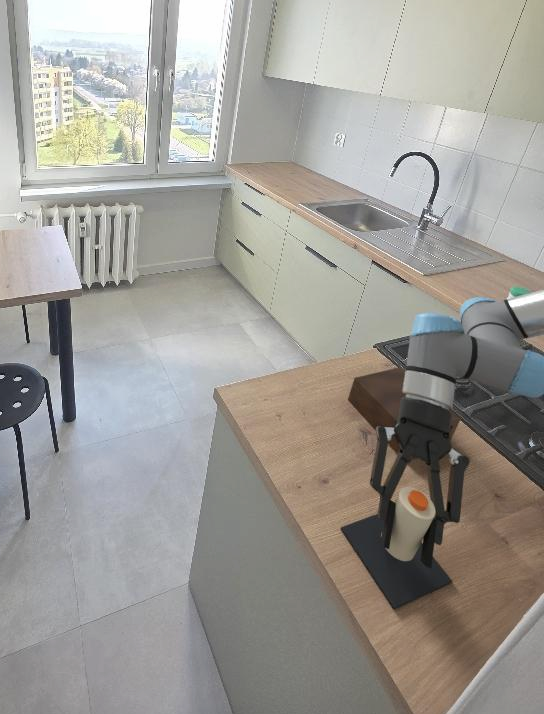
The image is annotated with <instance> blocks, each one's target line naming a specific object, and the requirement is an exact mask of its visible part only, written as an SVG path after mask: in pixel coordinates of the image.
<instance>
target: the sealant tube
mask: <svg viewBox="0 0 544 714" xmlns="http://www.w3.org/2000/svg"><path fill="white" fill-rule="evenodd" d="M395 499H396V500H395V501H394V503H396V507H395V514H394V521H393V527H392V534H391V541H390V547H389V549H387V548H386V550H387V551H388V552H389V553H390V554H391V555H392V556H393V557H395V558H397V559H399V560H401V561H410V560H412V559H413V557H414V555H415V553H416V551H417V549H418V548H419V546H420V544H421V542H422V543H423V538H424V536H425V534H426V532H427V530H428V528H429V526H430V524H431V522H432V520H433V518H434V516H435V513H436V511H435V507H434V504H433V503H432V501H431V500H430V496H428V495H427V494H425V493H424V492H423V491H422V490H420V489H418V488H415V487H413V486H405V487H402V488H401V489H400V490H399V492H398V495H397V497H396V498H395ZM381 536H382V534H381Z"/></svg>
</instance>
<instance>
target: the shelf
mask: <svg viewBox="0 0 544 714" xmlns="http://www.w3.org/2000/svg"><path fill="white" fill-rule="evenodd" d="M405 371H406V369H404V368H403V367H402V366H398V367H393V368H389V369H385V370H382V371H377V372H373V373H369V374H365V375H361V376H356V377H354V378H353V380H352V381H353V382H352V385H351V388H350V391H349V395H348V397H347V400H348V402H349V403H350V404H351V405H352V406H353V407H354V409H356V410H357V412H358V413H359V414H360V415H361V416H362V417H363V418H364V419H365V420H366V422H367V423H368V424H369V425H370V426H371V427H372V428H373V429H374V430H375V431H376V427H377V426H382V427H393V426H394V424H395V423H396V422H397V419H398V413H399V407H400V401H401V398H402V397H405V395H404V394H403V393H402V388H403V383H404V377H405ZM448 411H450V412H451V414H452V419H451V427H450V435H449V441H450V442H451V440H453V439H452V438H453V437H454V435H455V432H456V430H457V428H458V425H459V423H460V421H461V418H460V417H459V416H458V415H457V414H456V413H454V411H452V410H451V408H448ZM388 446H389V447H390V448H391V449H392V450H393V451H394V452H395V453H396V455H397V454H398V452H399V450H400V445H399V443H398V441H397V439H396V437H395V435H394V434H393V435H392V437H391V440H389V441H388Z"/></svg>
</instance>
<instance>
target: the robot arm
mask: <svg viewBox="0 0 544 714" xmlns="http://www.w3.org/2000/svg"><path fill="white" fill-rule="evenodd" d="M459 317H460V320H459V319H456V318H453V317H451V316H449V315H446V314H441V313H436V312H435V313H434V312H421V313H419V314H417V315H415V317H414V319H413V323H412V328H411V332H410V335H409V342H408V343H409V344H408V351H407V357H406V364H405V377H404V383H403V388H402V393H403V394H404V395H405V397H402V398H401V401H400V407H399V413H398V419H397V422H396V423H395V424H394V426H393V427H382V426H377V427H376V430H375V434H376V446H375V451H374V458H373V462H372V468H371V472H370V478H369V486H370V487H371V488H372V489H373V490H375V492H377V493H378V494H379V503H378V509H377V514H378V518H379V519H380V520H383V521H384V523H383V529H382V536H381V544H382V545H383V547H385V548H387V549H389V547H390V541H391V534H392V527H393V521H394V514H395V507H396V503H395V501H393V500H392V498H393V496H394V493H395V491H396V490H397V487H398V485H399V483H400V480H401V479H402V477H403V475H404V472H405V470H406V468H407V466H408V464H409V463H410V461H411V460H412V459H416V460H419V461H420V462H422V463H424V467H425V470H426V476H427V484H428V491H429V499H430V500H431V501H432V503H433V504H434V507H435V511H436V513H435V516H434V518H433V520H432V522H431V524H430V526H429V528H428V530H427V532H426V534H425V536H424V538H423V540H422V544H423V545H422V553H421V562H422V563H423V564H424V565H425V566H426V567H429V568H431V567H432V558H433V557H434V549H435V544H436V545H438V546H441V545H442V543H443V537H444V531H445V530H444V529H445V525H446V524H447V523H455V524H458V523H460V521H461V514H462V513H461V511H462V500H463V492H464V491H463V489H464V480H465V479H464V478H465V472H466V470H467V469H468V466H469V465H470V462H471V461H470V458H469V457H468V456H466V455H462V454H461V453H459V452H458V451H457V450H455V449H454V448H453V447H452V444H451V441H449V435H450V427H451V419H452V414H451V412H450V411H448V408H449V409H452V408H454V403H455V402H454V400H455V392H456V384H457V378H460V379H464V380H469V381H472V382H475V383H479V384H481V385H485V386H488V387H491V388H493V389H497V390H500V391H503V392H506V393H507V394H515V395H519V396H523V397H526V398H531V399H537V398H540V397H541V396H543V395H544V356H543V355H542V354H540V353H537V352H534V351H532V350H530V349H527V350H526V349H523V347H522V346H521V343H520V344H519V342H518V340H522V341H523V340H525V339H530V338H535V337H539V336H544V289H540V290H536V291H533V292H532V291H531V293H528V294H525V295H521V296H517V297H513V298H510V299H507V298H506V299H502V300H498V301H497V300H495V299H493V298H490V297H485V296H484V297H483V296H475V297H472V298H470V299H467V300H466V301H464V302H463V304H462V305H461V306H460V308H459ZM393 434H394V435H395V437H396V439H397V441H398V443H399V445H400V450H399V452H398V454H397V453H396V458H395V459H394V462H393V464H392V466H391V468H390V470H389V472H388V474H387V477H386V478H385V481H384V483H383V485H382V480H383V475H384V468H385V464H386V463H385V462H386V458H387V451H388V447H389V444H388V441H389V440H391V437H392V435H393ZM447 455H448V457H449V458H448V462H449V463H450V467H449V474H448V475H449V476H448V486H447V495H446V504H445V503H444V501H445V500H444V496H443V488H442V487H443V486H442V481H441V474H440V473H441V467H440V461H441V460H442V459H443V458H445V457H446V456H447ZM445 505H446V506H445Z"/></svg>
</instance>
